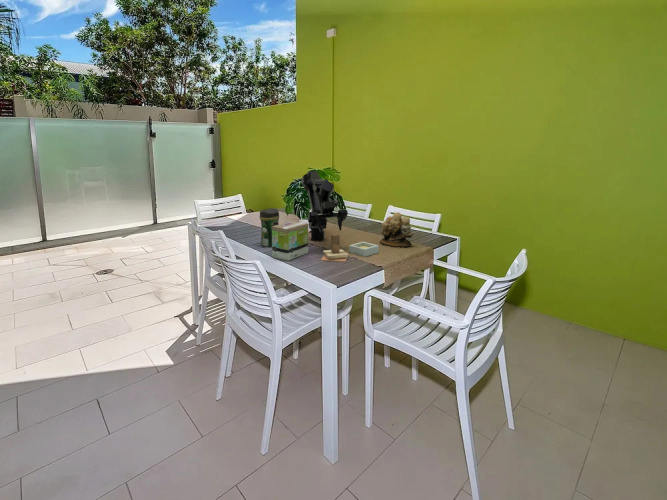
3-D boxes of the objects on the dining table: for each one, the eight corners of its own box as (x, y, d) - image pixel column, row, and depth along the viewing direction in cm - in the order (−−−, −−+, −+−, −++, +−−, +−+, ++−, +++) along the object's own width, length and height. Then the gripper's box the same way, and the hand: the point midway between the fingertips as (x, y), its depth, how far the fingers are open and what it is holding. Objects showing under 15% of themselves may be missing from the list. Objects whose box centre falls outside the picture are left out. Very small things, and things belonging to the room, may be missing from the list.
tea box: (289, 261, 167) (288, 228, 162) (272, 257, 172) (270, 226, 167) (309, 253, 179) (308, 222, 175) (292, 249, 184) (291, 220, 180)
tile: (321, 260, 167) (321, 259, 167) (325, 253, 178) (325, 252, 178) (345, 262, 166) (345, 261, 165) (348, 254, 176) (348, 253, 176)
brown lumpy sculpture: (416, 244, 194) (419, 211, 189) (409, 250, 184) (411, 216, 179) (384, 239, 203) (385, 208, 198) (375, 244, 193) (376, 212, 188)
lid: (323, 254, 174) (323, 233, 172) (341, 253, 177) (341, 231, 174) (328, 260, 166) (328, 237, 163) (347, 258, 169) (348, 236, 166)
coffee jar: (272, 241, 198) (271, 206, 193) (283, 244, 193) (281, 208, 188) (258, 245, 191) (256, 209, 185) (268, 248, 186) (267, 211, 181)
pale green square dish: (349, 252, 180) (349, 245, 179) (363, 248, 186) (363, 241, 185) (364, 256, 173) (364, 249, 172) (378, 252, 179) (378, 245, 178)
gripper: (308, 194, 173) (314, 223, 166) (346, 192, 178) (354, 220, 171) (305, 208, 183) (310, 236, 176) (341, 205, 187) (348, 232, 181)
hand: (331, 231), depth 176 cm, fingers open, 9 cm apart
